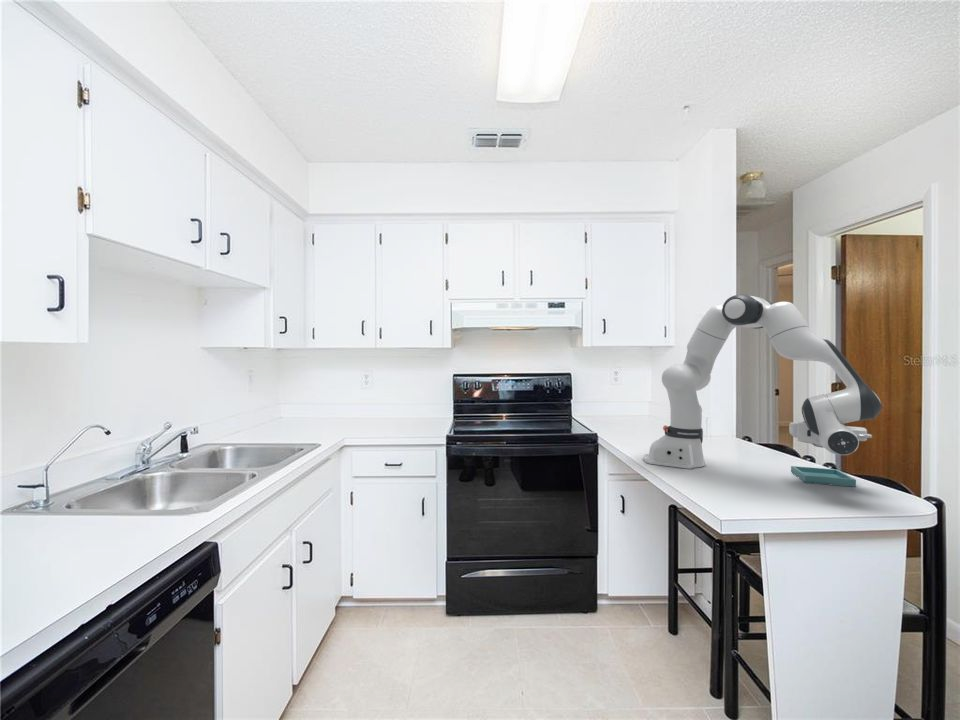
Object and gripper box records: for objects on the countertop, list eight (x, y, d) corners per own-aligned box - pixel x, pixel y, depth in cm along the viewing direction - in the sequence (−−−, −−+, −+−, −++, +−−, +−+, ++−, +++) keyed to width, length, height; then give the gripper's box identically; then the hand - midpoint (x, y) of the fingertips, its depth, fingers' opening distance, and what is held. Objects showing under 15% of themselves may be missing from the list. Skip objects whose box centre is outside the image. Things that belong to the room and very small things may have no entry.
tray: (805, 482, 146) (805, 475, 146) (790, 472, 158) (791, 465, 158) (855, 487, 142) (856, 479, 142) (837, 476, 154) (837, 469, 154)
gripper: (874, 427, 133) (861, 421, 145) (792, 421, 143) (787, 416, 155) (873, 447, 133) (861, 440, 145) (792, 440, 143) (787, 434, 155)
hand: (822, 427), depth 150 cm, fingers closed on soda can, 7 cm apart
